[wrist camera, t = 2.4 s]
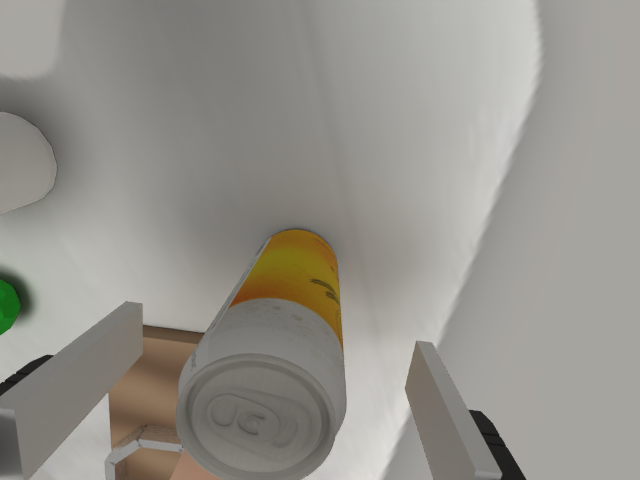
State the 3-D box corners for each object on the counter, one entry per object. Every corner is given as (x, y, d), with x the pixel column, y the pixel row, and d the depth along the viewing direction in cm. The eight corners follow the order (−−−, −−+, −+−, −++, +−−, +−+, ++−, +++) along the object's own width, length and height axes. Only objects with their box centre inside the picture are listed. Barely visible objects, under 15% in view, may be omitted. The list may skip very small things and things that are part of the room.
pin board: (117, 321, 27) (105, 331, 26) (311, 347, 27) (310, 359, 26) (123, 485, 32) (114, 501, 31) (288, 506, 32) (286, 523, 31)
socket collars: (110, 334, 26) (97, 346, 24) (310, 361, 26) (309, 374, 24) (118, 499, 31) (108, 516, 29) (286, 520, 31) (284, 539, 29)
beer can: (318, 312, 26) (306, 517, 12) (246, 284, 26) (142, 462, 11) (350, 245, 25) (379, 388, 10) (274, 213, 24) (192, 318, 10)
